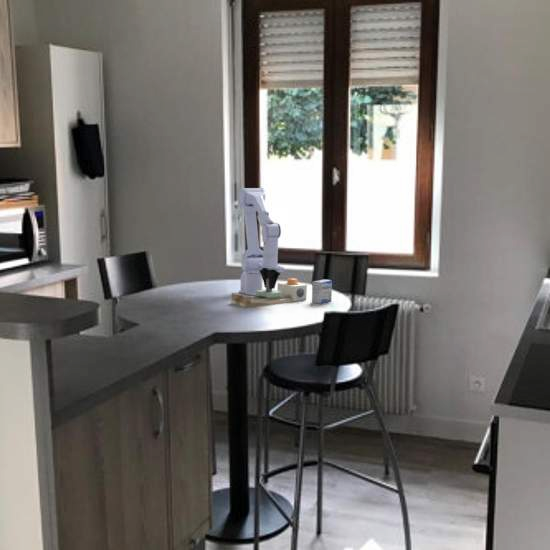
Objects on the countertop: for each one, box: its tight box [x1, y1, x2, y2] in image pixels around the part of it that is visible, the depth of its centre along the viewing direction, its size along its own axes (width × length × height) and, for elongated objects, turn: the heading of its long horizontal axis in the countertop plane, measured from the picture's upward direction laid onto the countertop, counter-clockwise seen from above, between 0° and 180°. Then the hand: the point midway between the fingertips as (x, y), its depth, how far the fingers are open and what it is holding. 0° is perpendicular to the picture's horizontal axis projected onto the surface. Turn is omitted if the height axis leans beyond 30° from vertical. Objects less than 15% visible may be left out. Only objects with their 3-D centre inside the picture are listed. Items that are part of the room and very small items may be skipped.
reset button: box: [286, 277, 298, 285], centre depth 304 cm, size 4×4×6 cm
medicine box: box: [311, 279, 333, 305], centre depth 298 cm, size 8×4×9 cm, turn 143°
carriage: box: [255, 278, 282, 298], centre depth 296 cm, size 8×7×7 cm
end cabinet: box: [277, 281, 308, 302], centre depth 304 cm, size 10×7×6 cm
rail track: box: [231, 292, 294, 308], centre depth 295 cm, size 10×23×4 cm, turn 129°
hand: (269, 288), depth 296 cm, fingers closed on carriage, 2 cm apart
